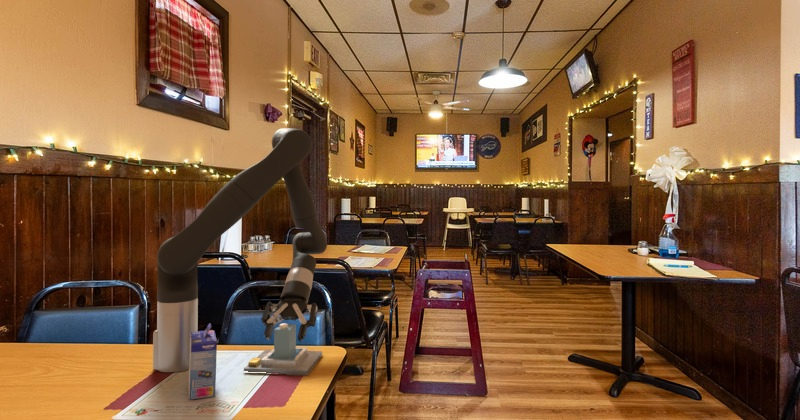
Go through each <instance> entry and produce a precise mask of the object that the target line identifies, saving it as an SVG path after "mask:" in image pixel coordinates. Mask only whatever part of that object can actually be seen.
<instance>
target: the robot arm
mask: <svg viewBox="0 0 800 420" xmlns="http://www.w3.org/2000/svg"><path fill="white" fill-rule="evenodd" d="M312 145H313V143H312V137H311V135H309V133H308V132H306V131H304V130H303V129H299V128H293V127H292V128H291V127H290V128H289V127H281V128H280V129H277V130H276V131H275V132H274V133H273V135H272V138H271V147H272V150H271V151H270V152H269V153H268V154H267V155H266V156H265V157H264V158H262V159H261V160H260V161H257V163H255V164H253V165H251V166H249V167H247V168H245V169H244V170H242V171H241V172H239V173H238V174H236V175H235V176H233V177H232V178H231V179H230V180H229V181H227V183H225V185H224V186H223V187H221V188H220V190H218V191H217V193H215V194H214V196H212V198H211V199H210V200H209V202H208V203H206V206H204V208H203V210H202V211H200V213H199V215H197V216H196V218H195V219H193V221H192V222H191V223H189V224H188V225H187V226H185V228H183V229H182V230H181V231H180V232H178V233H177V234H176V235H174V236H172V237H169V238H168V239H166V240H164V241H163V242H162V243H161V245H160V247H159V248H158V251H157V253H156V254H157V255H156V261H157V289H156V290H157V291H156V295H157V296H156V299H157V303H156V304H157V305H156V307H157V308H156V310H157V311H156V312H157V317H156V322H157V323H156V330H154V331H153V334H152V339H153V340H152V345H153V346H152V347H153V348H152V369H153V370H157V371H159V372H161V373H175V372H183V371H186V370H189V360H190V334H191V332H197V331H199V330H198V323H199V322H198V321H199V320H198V318H199V315H198V313H199V311H198V310H199V309H198V305H199V299H198V297H199V295H198V294H199V292H198V291H199V285H198V262H199V261H201V258H202V257H203V256H204V255H205V254H206V252H207V251H208V250H209V249H210V248H211V246H212V245H213V244H214V243H215V242H216V241H217V240H218V239H219V238H220V237H221V236H222V235H223V234H225V233H226V232H227V231H229V230H230V229H231V228H232V227H233V226H235V224H237V223H238V222H239V221H240V220H241V219H242V218H243V217H245V216H246V214H248V213H249V212H250V211H251V210H252V209H253V208H254V207H255V206H256V205H257V204H258V203H259V202H260V201H261V199H262V198H263V197H265V195H266V194H268V192H269V191H271V189H272V188H273V187H274V186H275V185H276V184H277V183H278V182H279V181H280V180H281V179H282V178H283V181H284V185H285V187H286V192H287V196H288V199H289V201H288V202H289V203H290V205H289V206H290V210H291V214H292V220H293V224H294V226H295V227H297V228H300V229H304V230H307V232H304V231H303V232H298V233H296V234H295V235H294V236H293V239H292V263H291V264H290V265H291V266H290V268H289V271H288V274H287V276H286V279H285V283H284V286H283V289H282V292H281V296H280V300H279V302H278V303H273V302H272V301H268V302H267V303H266V306H265V308H264V310H263V314H262V316H261V318H260V319H261V322H262V324H263V326H265V329H264V332H263V336H264V337H265V339H266V341H271V338H272V336H273V333H274V329H275V326H276V325H278V324H279V323H280V324H281V322H282V321H290V320H291V321H296V320H299V322H300V325H299V330H298V334H297V340H298V342H302V341H303V340H304V339H306V336H307V330H308V328H311V327H312V328H314V327H315V326H316V321H317V316H318V315H317V314H318V310H319V309H318V308H319V307H318V305H317V303H316V302H312V303H311V304H308V303H309V298H310V294H311V291H312V288H313V281H314V275H315V271H316V266H317V261H316V258H315V257H314V256H312V255H321V254H323V253H325V251H326V250H327V249H328V248H327V247H328V241H327V235H326V234H325V232H324V230H323V228H322V227H321V224H320V222H319V220H318V217H317V213H316V212H317V211H316V206H315V203H314V197H313V195H312V192H311V190H310V188H309V185H308V183H307V181H306V178H305V175H304V173H303V170H302V165H301V162H303V161H304V160H305V159H307V157H308V155H309V154H310V153H311V150H312ZM307 311H308V312H309V319H307V320H306V318H305V316H304V314H305V313H306V312H307Z"/></svg>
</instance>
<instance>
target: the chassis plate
mask: <svg viewBox="0 0 800 420" xmlns="http://www.w3.org/2000/svg"><path fill="white" fill-rule="evenodd" d="M322 356H323V350H309V349H308V347H297V346H296V356H295V357H294V358H293V359H274V348H273V349H270V348H268V349H267V348H266V349H264V351H262V352H261V353H259V355H258V356H257V357H253V358H252V359H251V360H249V361H248V362H247V363H248V364H247V365H246V366H245V367H243V372H244V371H248V372H266V373H278V374H277V375H279V374H287V376H306V377H307V376H308V375H309V374H310V373H311V371H312V370H313V368H314V367H315V366H316V364H317V363H318V362H319V360H320V358H322Z"/></svg>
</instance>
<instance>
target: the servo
mask: <svg viewBox="0 0 800 420" xmlns="http://www.w3.org/2000/svg"><path fill="white" fill-rule="evenodd" d="M273 338H274V339H273V349H274V359H293V358H294V357H295V356H296V347H297V324H290V323H289V324H288V323H285V322H283V323H280V324H279V325H278V326H276V327H274V329H273Z"/></svg>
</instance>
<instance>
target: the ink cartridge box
mask: <svg viewBox="0 0 800 420" xmlns="http://www.w3.org/2000/svg"><path fill="white" fill-rule="evenodd" d="M206 326H207V327H206V328H205V330H198V331H197V332H191V334H190V360H189V369H188V384H187V385H188V400H189V401H191V400H198V399H205V398H206V399H207V398H213V397H216V387H217V386H216V383H217V350H218V348H217V347H218V346H217V344H218V339H217V337H216V332H215V330H213V329H212V324H211V322H210V323H208V324H207V325H206Z"/></svg>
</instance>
